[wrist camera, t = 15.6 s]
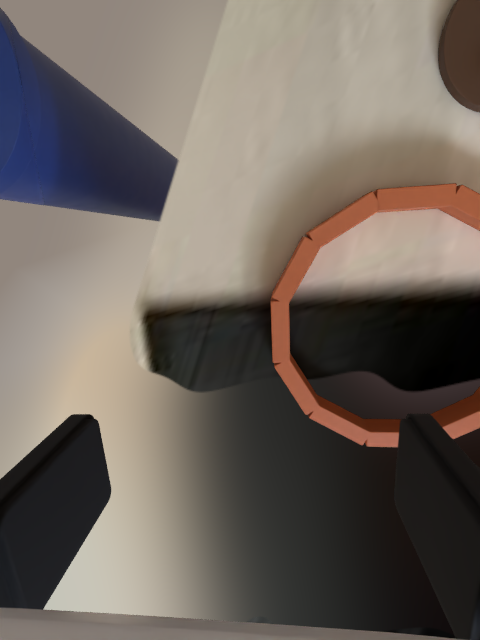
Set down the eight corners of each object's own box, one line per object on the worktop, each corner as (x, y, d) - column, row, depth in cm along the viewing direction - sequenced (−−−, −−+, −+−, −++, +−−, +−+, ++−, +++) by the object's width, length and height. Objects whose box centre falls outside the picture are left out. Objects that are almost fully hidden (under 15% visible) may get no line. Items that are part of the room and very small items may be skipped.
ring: (275, 431, 32) (275, 444, 30) (267, 200, 27) (266, 197, 25) (514, 435, 29) (533, 450, 27) (557, 179, 24) (584, 173, 22)
